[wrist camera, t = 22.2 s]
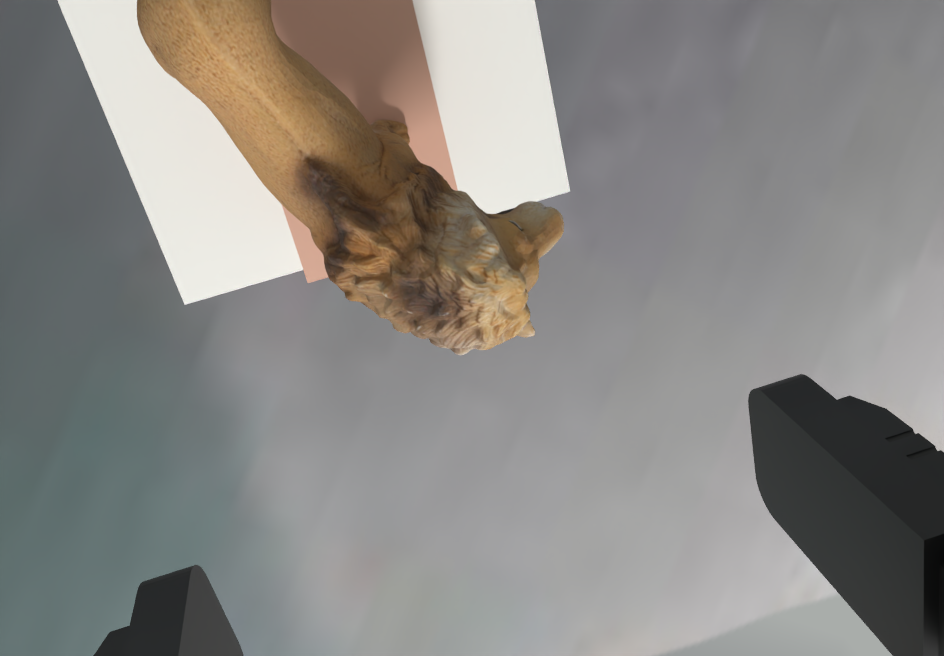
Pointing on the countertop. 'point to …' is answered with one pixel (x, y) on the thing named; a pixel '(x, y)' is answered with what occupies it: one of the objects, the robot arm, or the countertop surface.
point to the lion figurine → (356, 181)
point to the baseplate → (241, 191)
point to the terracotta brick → (366, 78)
